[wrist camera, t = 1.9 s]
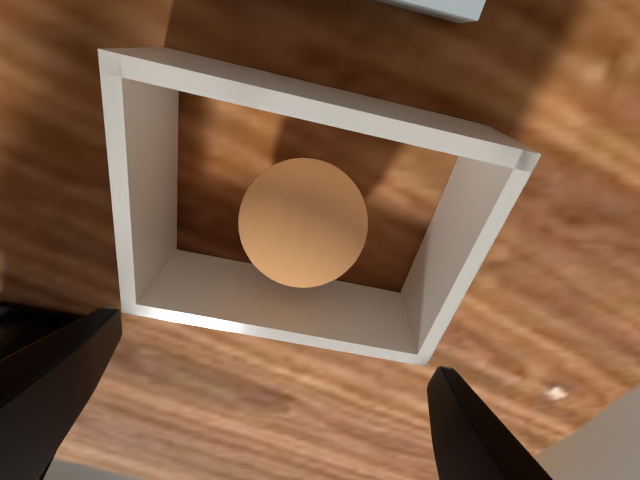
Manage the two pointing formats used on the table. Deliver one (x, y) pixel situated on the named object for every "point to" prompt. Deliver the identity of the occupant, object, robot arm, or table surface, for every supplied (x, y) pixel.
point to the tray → (442, 8)
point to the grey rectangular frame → (244, 278)
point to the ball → (303, 222)
